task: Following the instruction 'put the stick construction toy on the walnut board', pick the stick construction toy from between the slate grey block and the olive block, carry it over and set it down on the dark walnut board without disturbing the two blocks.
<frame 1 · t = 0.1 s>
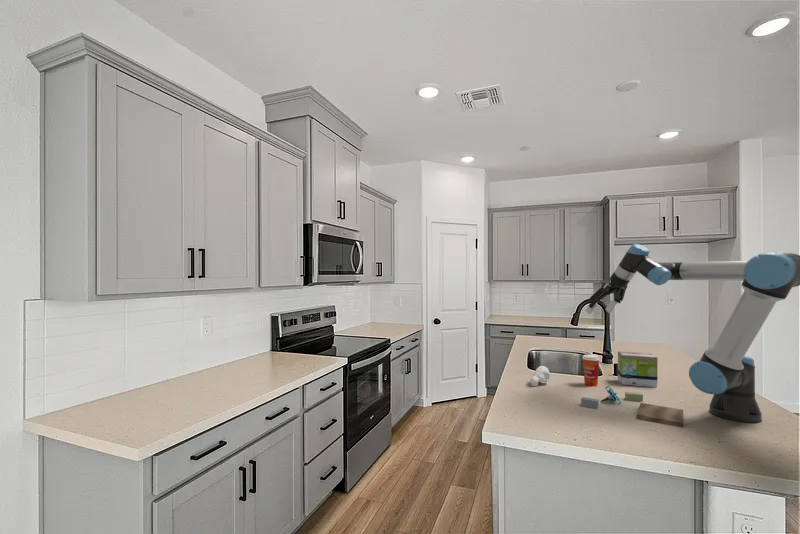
hand: (597, 311, 186), 36 cm above the counter, tool tilted 35°, fingers open, 13 cm apart
tea box: (637, 384, 191), on the counter
stick construction toy: (609, 402, 165), on the counter
walnut board: (660, 416, 148), on the counter
olive block: (633, 400, 167), on the counter
slate grey block: (589, 406, 159), on the counter
white lumpy piece: (538, 385, 190), on the counter
paper cup: (591, 385, 189), on the counter
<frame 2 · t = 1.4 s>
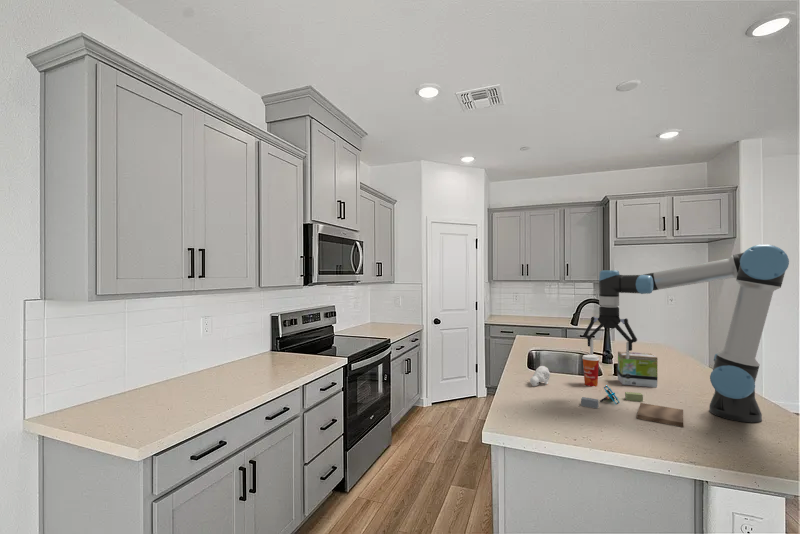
hand: (609, 356, 165), 19 cm above the counter, tool pointing down, fingers open, 13 cm apart
nothing on the counter moved.
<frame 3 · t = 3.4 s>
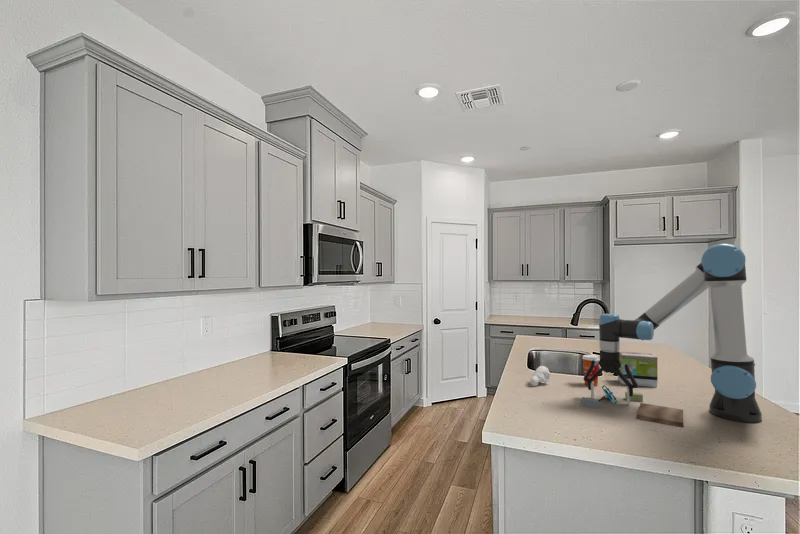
hand: (610, 400, 165), 0 cm above the counter, tool pointing down, fingers open, 13 cm apart
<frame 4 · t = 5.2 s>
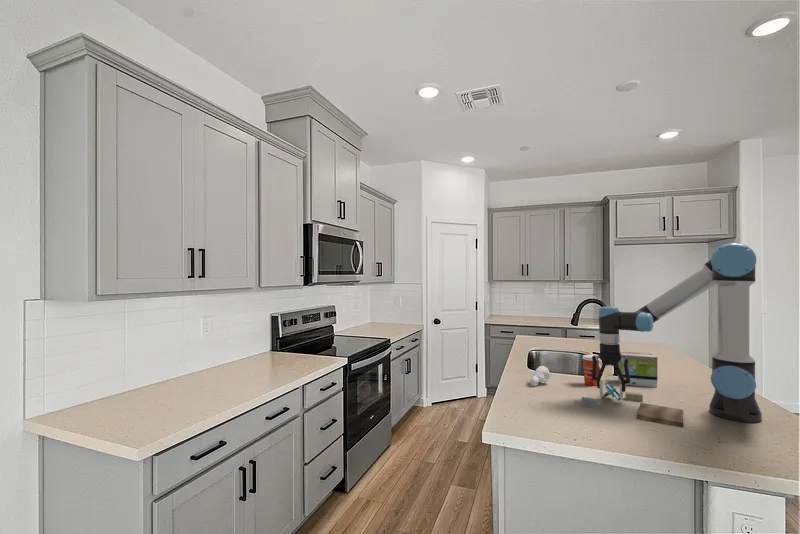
hand: (611, 397, 164), 2 cm above the counter, tool pointing down, fingers closed on stick construction toy, 7 cm apart
stick construction toy: (608, 398, 165), point 1 cm above the counter, touching gripper
everything else where it was.
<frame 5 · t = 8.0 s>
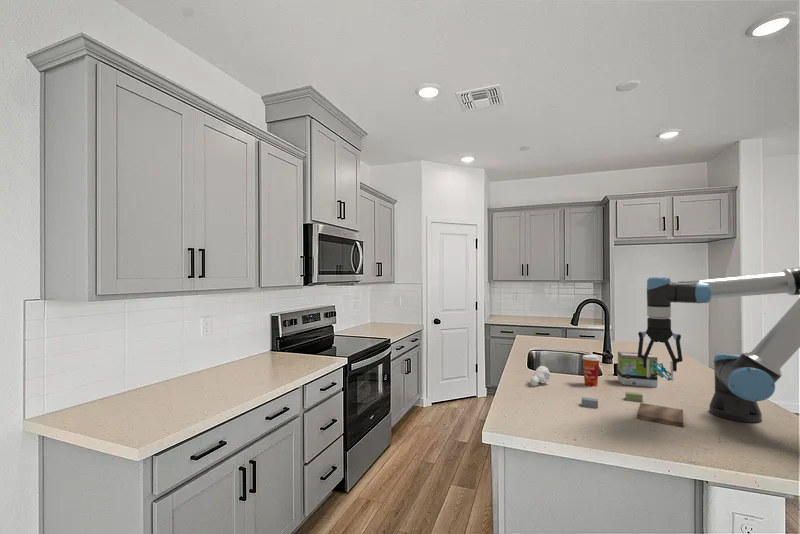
hand: (659, 378, 148), 14 cm above the counter, tool pointing down, fingers closed on stick construction toy, 7 cm apart
stick construction toy: (656, 378, 149), point 14 cm above the counter, touching gripper
everything else where it was.
when the fingers open (2 cm above the counter, at t = 10.9 s): stick construction toy stays where it is, resting on walnut board.
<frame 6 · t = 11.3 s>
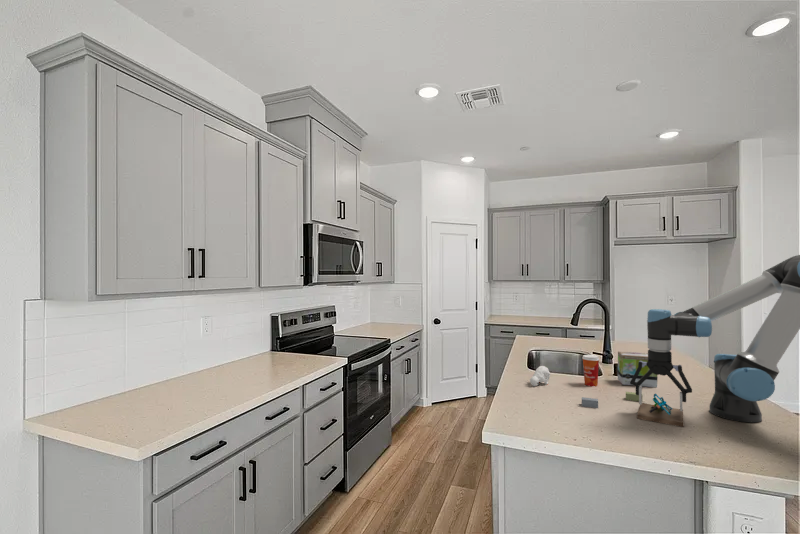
hand: (660, 406, 148), 3 cm above the counter, tool pointing down, fingers open, 12 cm apart
stick construction toy: (657, 411, 149), point 1 cm above the counter, touching walnut board
everything else where it was.
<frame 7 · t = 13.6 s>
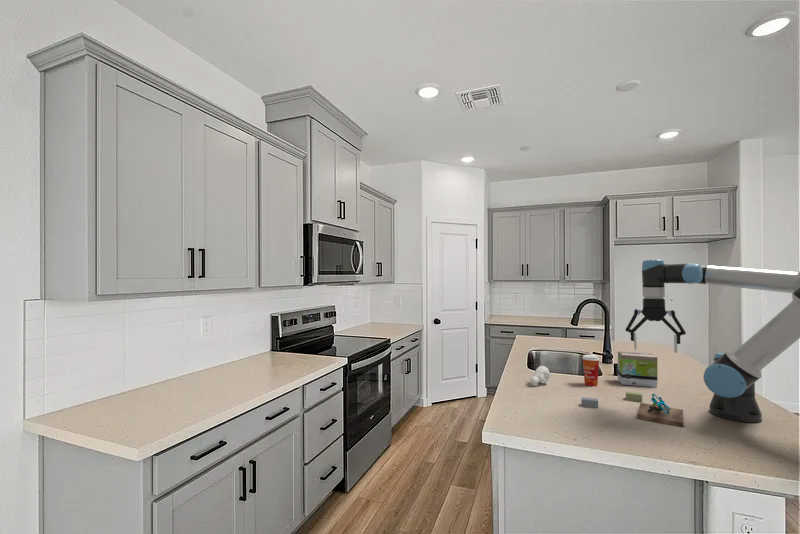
hand: (655, 350, 157), 23 cm above the counter, tool pointing down, fingers open, 13 cm apart
nothing on the counter moved.
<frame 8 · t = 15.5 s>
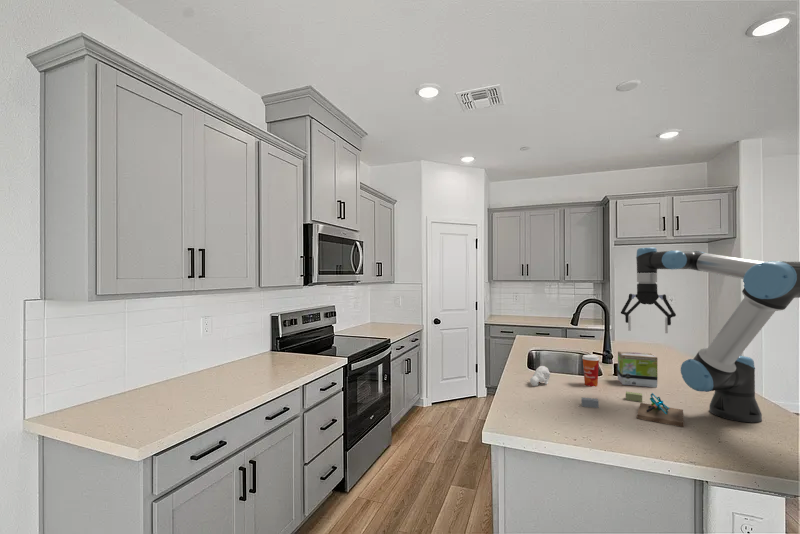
hand: (647, 331, 170), 29 cm above the counter, tool pointing down, fingers open, 13 cm apart
nothing on the counter moved.
at the end: stick construction toy inside the target area on the walnut board (2.0 cm from its centre), point 1.3 cm above the walnut board's base; slate grey block moved 0.2 cm from its start; olive block moved 0.2 cm from its start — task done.
